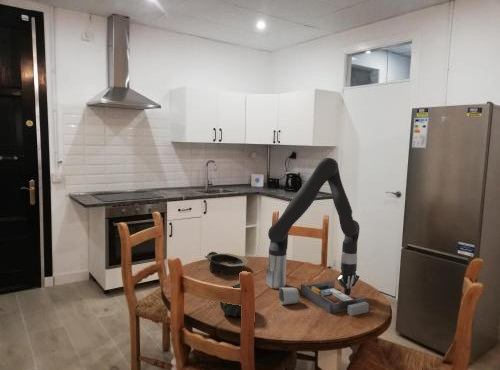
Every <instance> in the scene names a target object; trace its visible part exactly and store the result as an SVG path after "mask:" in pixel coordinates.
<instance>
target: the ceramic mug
mask: <svg viewBox="0 0 500 370" xmlns="http://www.w3.org/2000/svg"><path fill="white" fill-rule="evenodd" d="M300 297H301V296H300V290H299V289H298V288H297V287H284V288H279V290H278V300H279V303H280V304H281V305H282V306H283V305H285V306H286V305H291V304H293V305H294V304H298V303H299V301H300Z"/></svg>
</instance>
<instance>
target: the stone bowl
mask: <svg viewBox="0 0 500 370" xmlns="http://www.w3.org/2000/svg"><path fill="white" fill-rule="evenodd" d="M204 258H205V259H207V260H208V261H209V262H210V263H209V271H211V272H221V273H222V275H226V276H229V275H233V274H235V273H239V272H240V270H241V269H242V267H243V266H245V265H247V263H248V259H247V258H245V257H243V256H240V255H237V254H233V253H218V252H216V251H211V252H209V253H208V254H207V255H205V256H204Z"/></svg>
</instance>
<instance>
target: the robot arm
mask: <svg viewBox="0 0 500 370" xmlns="http://www.w3.org/2000/svg"><path fill="white" fill-rule="evenodd" d="M326 182H327V183H328V185H329V189H330V193H331V196H332V197H331V198H332V200H333V204H334V208H335V210H336V214H337V215H338V220H339V224H340V229H341V231H342V233H343V235H344V238H343V241H342V247H341V248H342V249H341V251H342V252H341V259H340V271H341V272H340V276H339V277H336V281H337V282H338V284H339V285H340V286H341V287H342V288H343V289H344V291H343V294H345V295H347V296H349V297H350V295H351V293H352V291H351V289H352V288H353V287H355V285H356V283H357V282H358V280H359V279H360V275H358V274H357V273H356V272H357V267H358V264H357V263H358V240H359V236H360V224H359V222H358V221H357V220H354V218H353V210H352V207H351V203H350V202H349V198H348V196H347V193H346V190H345V188H344V185H343V181H342V178H341V174H340V170H339V164H338V161H337V160H336V159H335V158H331V157H324V158H322V159H321V160H320V161H319V162H318V163H317V165H316V167H315V169H314V170H313V172H312V173H311V175H310V176H309V178H308V179H307V180H306V181H305V182H304V184H302V186H301V187H300V188H299V190H298V191H297V192H296V193H295V194H294V195H293V198H292V199H291V200H290V202H289V203H288V205H287V206H286V207H285V210H284V212H283V213H282V214H281V216H279V218H278V219H277V220H276V221H275V222H274V223H273V224H272V225H271V227H269V229H268V232H267V234H268V235H267V236H268V239H269V241H270V242H269V246H268V266H267V267H266V276H265V277H266V278H265V279H266V281H265V282H266V283H265V284H266V286H268V287H269V288H270V289H279V290H280V288H286V277H287V250H288V244H289V243H288V241H289V231H290V230H291V228H292V227H293V226H294V224H295V223H296V222H298V220H299V219H300V218H301V217H303V215H304V214H305V213H306V212H307V211H308V209H309V208H310V207H311V206H312V204H313V203H314V202H315V200H316V198H317V196H318V194H319V192H320V190H321V188H322V187H323V186H324V185H325V183H326Z"/></svg>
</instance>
